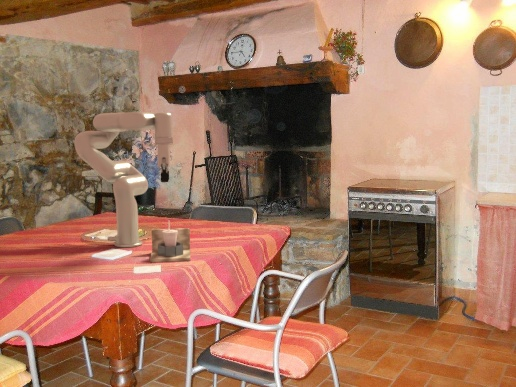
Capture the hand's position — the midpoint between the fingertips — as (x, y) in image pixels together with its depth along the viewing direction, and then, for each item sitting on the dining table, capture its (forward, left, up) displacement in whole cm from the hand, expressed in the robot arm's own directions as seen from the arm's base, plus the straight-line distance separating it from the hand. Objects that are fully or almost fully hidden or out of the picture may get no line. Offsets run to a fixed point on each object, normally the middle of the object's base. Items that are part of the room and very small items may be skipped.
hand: (165, 180), depth 226 cm
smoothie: (+2, -14, -29) cm, 33 cm away
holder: (+2, -14, -30) cm, 33 cm away
